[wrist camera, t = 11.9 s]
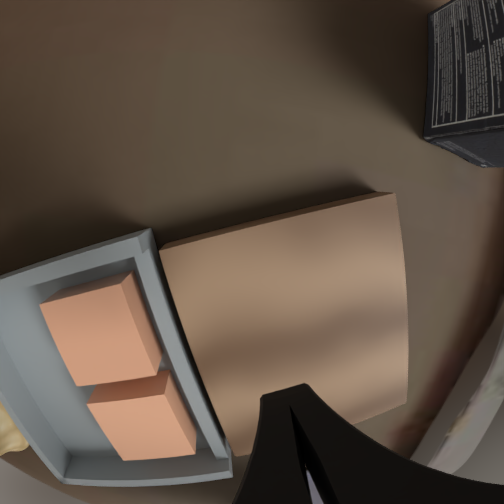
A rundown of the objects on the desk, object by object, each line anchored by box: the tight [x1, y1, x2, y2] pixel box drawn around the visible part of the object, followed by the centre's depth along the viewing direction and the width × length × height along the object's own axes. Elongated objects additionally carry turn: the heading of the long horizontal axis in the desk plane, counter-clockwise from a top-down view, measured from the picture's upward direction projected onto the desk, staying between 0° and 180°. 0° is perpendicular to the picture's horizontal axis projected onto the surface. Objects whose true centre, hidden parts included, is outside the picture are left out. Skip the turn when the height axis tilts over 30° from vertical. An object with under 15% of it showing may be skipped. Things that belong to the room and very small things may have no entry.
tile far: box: [87, 370, 197, 461], centre depth 17 cm, size 5×5×2 cm
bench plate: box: [159, 192, 408, 457], centre depth 17 cm, size 14×12×2 cm
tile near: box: [39, 270, 163, 386], centre depth 15 cm, size 5×5×2 cm
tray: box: [0, 228, 233, 487], centre depth 16 cm, size 16×14×3 cm
